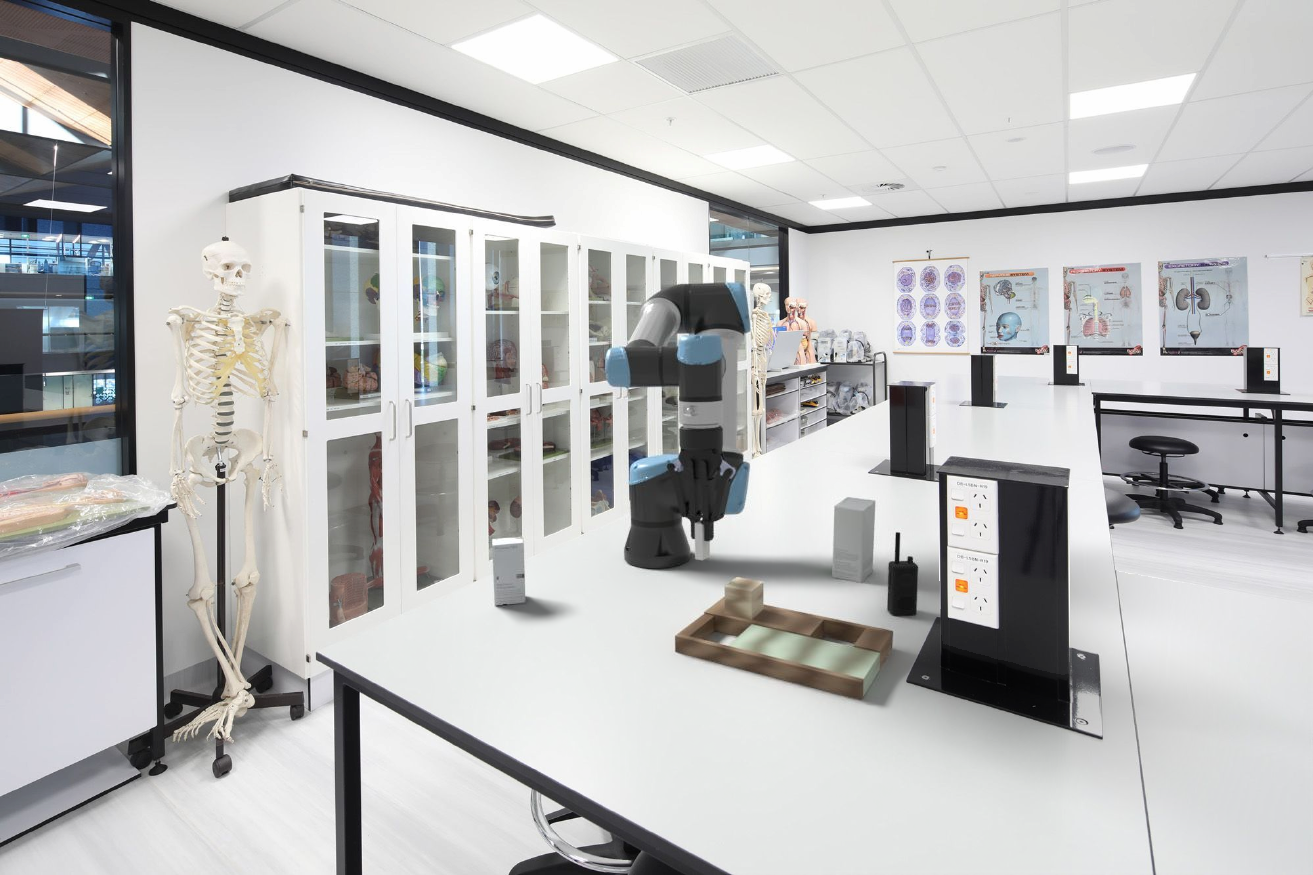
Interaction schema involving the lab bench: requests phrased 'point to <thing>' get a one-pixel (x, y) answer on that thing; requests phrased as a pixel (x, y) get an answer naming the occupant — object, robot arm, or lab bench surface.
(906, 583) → the walkie-talkie
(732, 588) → the block
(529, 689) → the lab bench surface
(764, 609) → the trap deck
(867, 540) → the skincare box
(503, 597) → the skincare box
